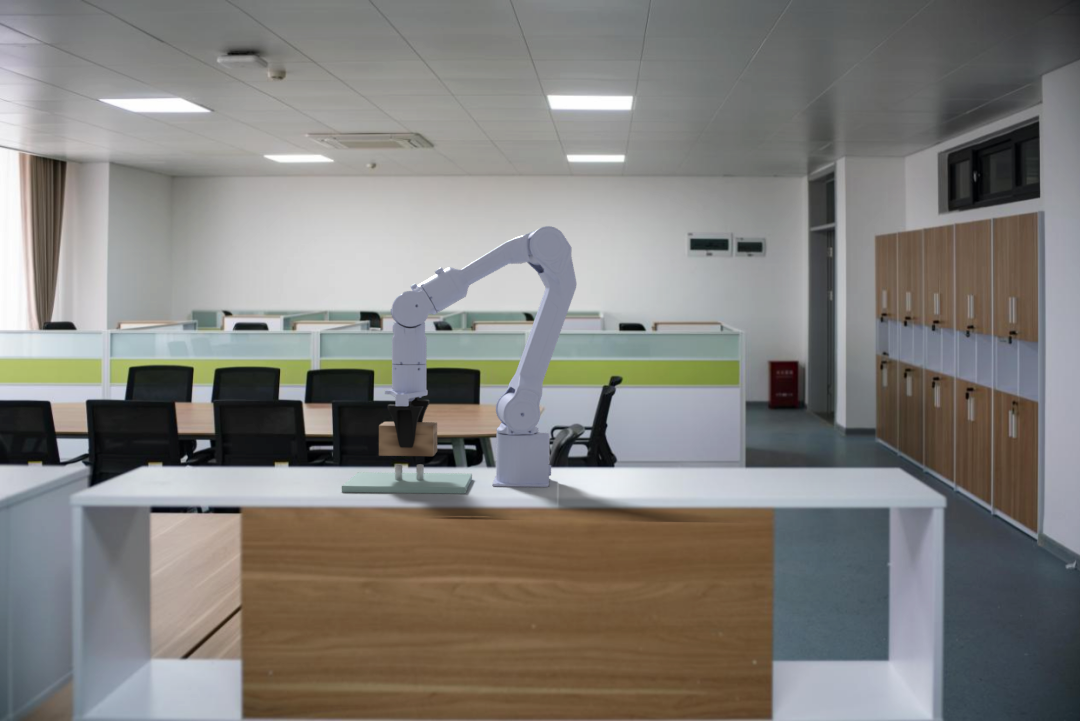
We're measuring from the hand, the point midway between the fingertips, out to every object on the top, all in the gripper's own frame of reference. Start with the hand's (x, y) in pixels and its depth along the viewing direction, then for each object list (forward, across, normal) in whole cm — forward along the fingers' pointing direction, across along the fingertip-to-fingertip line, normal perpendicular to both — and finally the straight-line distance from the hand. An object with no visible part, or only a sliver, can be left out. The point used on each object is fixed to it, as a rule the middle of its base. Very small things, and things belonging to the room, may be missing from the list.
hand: (409, 444), depth 149 cm
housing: (+2, 0, 0) cm, 2 cm away
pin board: (+7, 0, 0) cm, 7 cm away
